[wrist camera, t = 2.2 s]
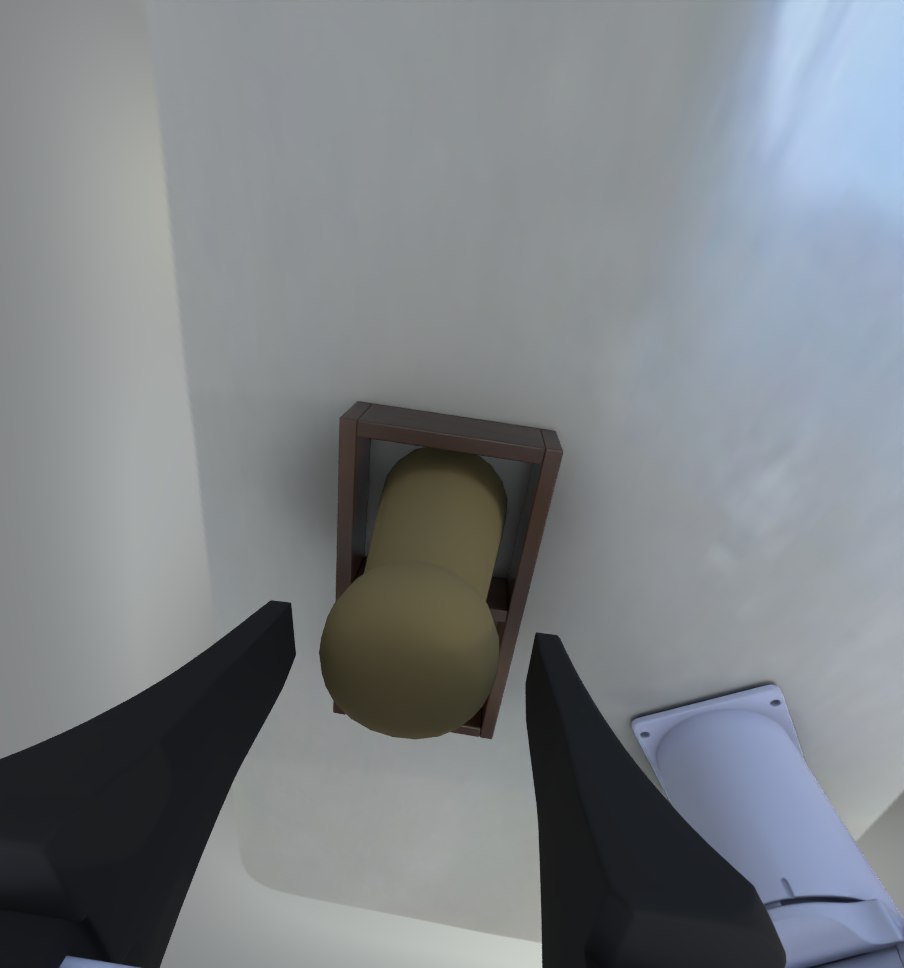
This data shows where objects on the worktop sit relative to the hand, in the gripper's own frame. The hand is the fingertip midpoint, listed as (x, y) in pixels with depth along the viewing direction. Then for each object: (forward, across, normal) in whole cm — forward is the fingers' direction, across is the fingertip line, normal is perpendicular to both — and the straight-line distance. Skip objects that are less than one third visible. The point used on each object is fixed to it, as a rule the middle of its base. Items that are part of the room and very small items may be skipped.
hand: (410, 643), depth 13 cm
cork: (+10, 0, 0) cm, 10 cm away
